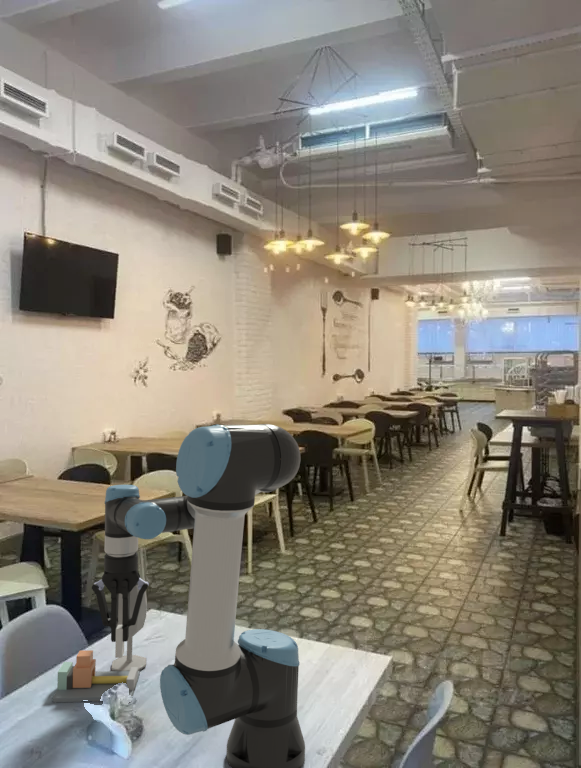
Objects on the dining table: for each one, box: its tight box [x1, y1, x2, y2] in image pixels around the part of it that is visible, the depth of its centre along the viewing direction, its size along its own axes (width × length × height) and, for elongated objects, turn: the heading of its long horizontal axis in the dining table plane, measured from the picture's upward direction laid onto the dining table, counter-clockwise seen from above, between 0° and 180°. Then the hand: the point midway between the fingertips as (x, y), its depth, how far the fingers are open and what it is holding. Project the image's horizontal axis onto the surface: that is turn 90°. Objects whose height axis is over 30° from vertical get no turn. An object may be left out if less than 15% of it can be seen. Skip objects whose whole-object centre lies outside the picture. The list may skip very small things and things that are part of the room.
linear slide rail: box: [52, 661, 141, 703], centre depth 144 cm, size 12×17×5 cm
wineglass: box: [111, 583, 148, 672], centre depth 155 cm, size 9×9×21 cm
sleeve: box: [73, 649, 97, 688], centre depth 143 cm, size 5×4×7 cm
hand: (119, 654), depth 143 cm, fingers closed
